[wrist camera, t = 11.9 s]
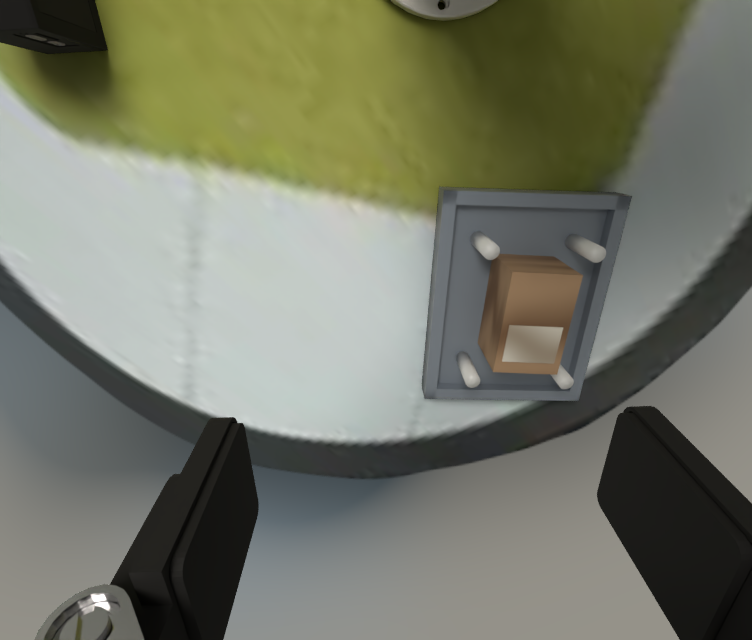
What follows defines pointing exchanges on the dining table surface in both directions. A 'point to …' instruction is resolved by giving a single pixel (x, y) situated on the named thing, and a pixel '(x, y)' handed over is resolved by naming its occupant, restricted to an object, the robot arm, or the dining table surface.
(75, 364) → the dining table surface
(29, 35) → the digital camera
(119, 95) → the dining table surface
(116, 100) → the dining table surface
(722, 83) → the dining table surface
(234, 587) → the robot arm
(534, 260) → the labeled cardboard box
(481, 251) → the tray
